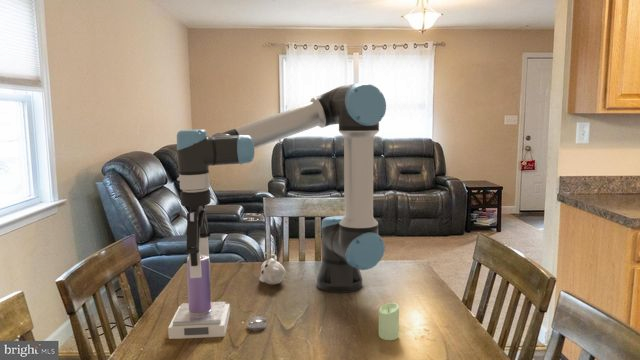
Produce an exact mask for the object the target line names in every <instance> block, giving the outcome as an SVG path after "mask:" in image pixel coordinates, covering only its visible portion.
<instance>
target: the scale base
mask: <svg viewBox="0 0 640 360" xmlns="http://www.w3.org/2000/svg"><path fill="white" fill-rule="evenodd" d="M180 307H181V305H179V306H178V308H177V310H176V311H175V313H174V316H173V317H172V319H171V322H170V323H169V326H168V328H167V329H168V331H167V332H168V333H167V334H168V340H175V339H177V340H178V339H197V338H198V339H201V338H221V337H226V332H227V327H228V323H229V320H230V315H231V308H230V307H231V305H230V303H226V306H225V309H224V313H223V317H222V320H221V323H219V324H196V325H173V320H174V318H175V316H176V314H177V312H178V310H179V308H180Z"/></svg>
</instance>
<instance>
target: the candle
mask: <svg viewBox="0 0 640 360" xmlns="http://www.w3.org/2000/svg"><path fill="white" fill-rule="evenodd" d="M399 317H400V306H399V304H398V303H396V302H387V303H385V304H383V305H382V306H380V308H379V309H378V337H379V338H380V339H382V340H383V341H384V340H385V341H395V340H396V339H398V338H399V327H400V326H399V322H400V321H399V320H400V318H399Z"/></svg>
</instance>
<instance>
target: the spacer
mask: <svg viewBox="0 0 640 360" xmlns="http://www.w3.org/2000/svg"><path fill="white" fill-rule="evenodd" d="M246 324H247V326H246V328H247V329H248V330H249V331H252V332H257V331H262V330H264V329H266V328H267V318H266V317H263V316H259V315H257V316H252V317H249V318H248V319H247V320H246Z"/></svg>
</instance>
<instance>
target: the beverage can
mask: <svg viewBox="0 0 640 360" xmlns="http://www.w3.org/2000/svg"><path fill="white" fill-rule="evenodd" d="M200 259H201V274H202V277H201V278H190V268H189V256H187V259H186V278H187V297H188V298H187V299H188V302H187V303H189V312H190V313H191V314H193V315H204V314H207V313H209V312H210V310H211V309H212V302H213V301H212V282H211V279H212V278H211V259H210V255H209V256H208V255H205V254H200Z"/></svg>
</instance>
